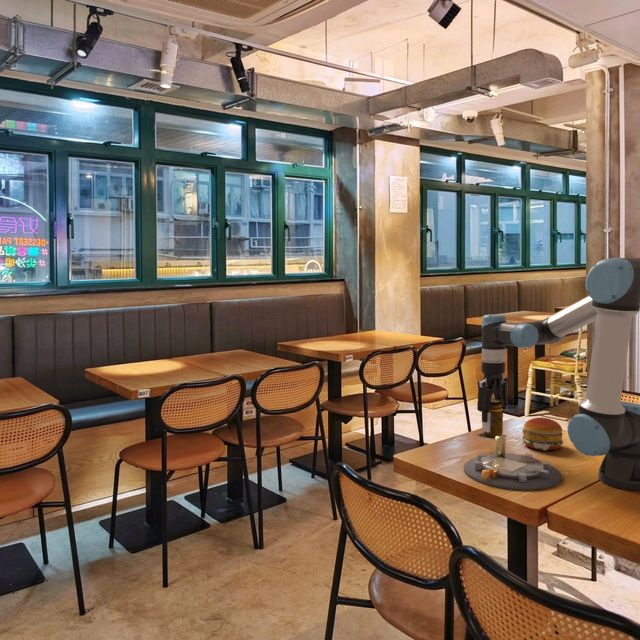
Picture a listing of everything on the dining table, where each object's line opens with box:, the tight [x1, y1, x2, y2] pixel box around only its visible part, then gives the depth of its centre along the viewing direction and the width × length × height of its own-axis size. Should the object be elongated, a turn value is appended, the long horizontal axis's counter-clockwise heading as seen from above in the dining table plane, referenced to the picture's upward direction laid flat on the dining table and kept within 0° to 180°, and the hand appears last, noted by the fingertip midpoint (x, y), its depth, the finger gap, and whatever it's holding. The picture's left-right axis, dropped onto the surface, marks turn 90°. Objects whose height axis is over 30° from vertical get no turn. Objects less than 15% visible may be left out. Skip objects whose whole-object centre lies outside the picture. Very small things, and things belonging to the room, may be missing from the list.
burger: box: [521, 417, 564, 451], centre depth 212 cm, size 13×14×10 cm
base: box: [463, 456, 563, 491], centre depth 186 cm, size 28×28×4 cm
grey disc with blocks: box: [474, 434, 552, 482], centre depth 186 cm, size 22×22×8 cm
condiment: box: [474, 398, 508, 441], centre depth 206 cm, size 7×8×12 cm
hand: (492, 429), depth 207 cm, fingers closed on condiment, 6 cm apart
